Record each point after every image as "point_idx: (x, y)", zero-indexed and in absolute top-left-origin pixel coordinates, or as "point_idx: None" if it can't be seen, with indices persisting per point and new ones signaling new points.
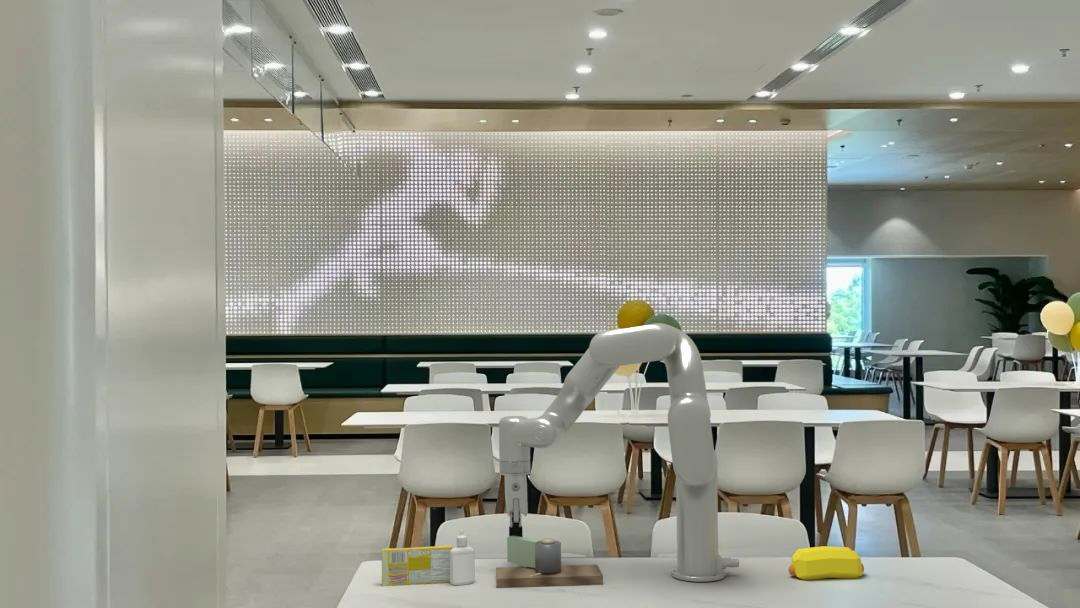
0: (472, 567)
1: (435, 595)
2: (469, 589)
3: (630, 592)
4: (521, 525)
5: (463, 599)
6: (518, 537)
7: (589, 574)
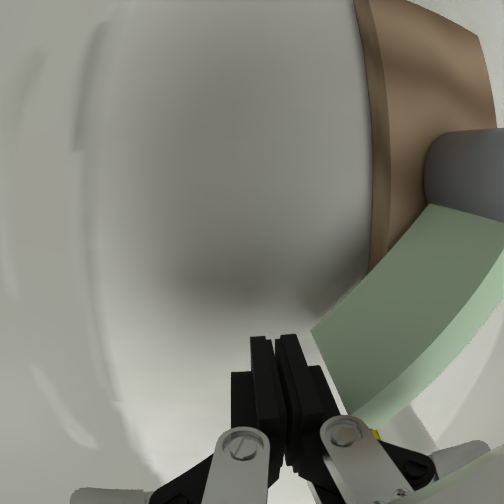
0: (419, 419)
1: (440, 420)
2: (438, 384)
3: (493, 26)
4: (367, 428)
5: (480, 372)
6: (415, 376)
7: (477, 62)
